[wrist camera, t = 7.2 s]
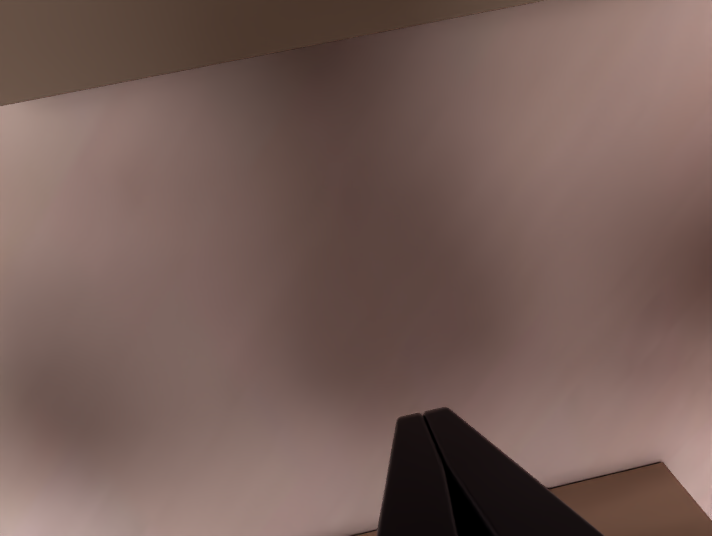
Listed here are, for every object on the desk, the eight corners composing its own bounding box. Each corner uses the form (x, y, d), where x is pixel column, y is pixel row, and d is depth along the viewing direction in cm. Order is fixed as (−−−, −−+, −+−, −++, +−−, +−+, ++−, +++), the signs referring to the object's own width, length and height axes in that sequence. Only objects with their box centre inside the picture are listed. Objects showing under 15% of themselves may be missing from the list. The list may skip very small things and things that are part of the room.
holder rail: (659, 493, 16) (739, 595, 13) (234, 595, 15) (227, 726, 12) (735, -139, 9) (934, -194, 6) (-24, 2, 8) (-162, 7, 6)
